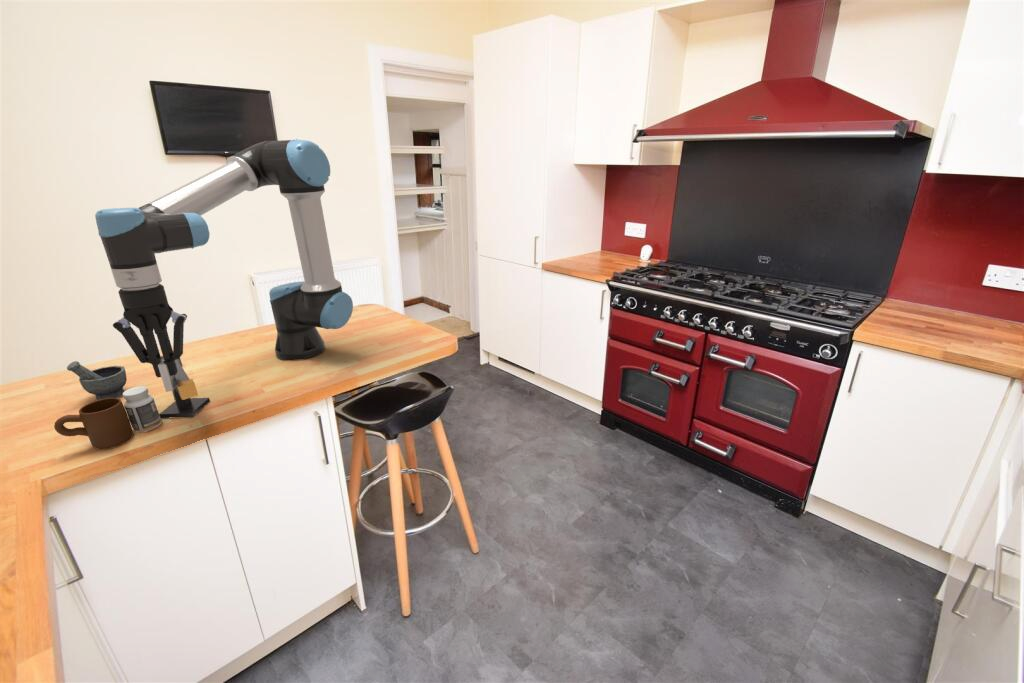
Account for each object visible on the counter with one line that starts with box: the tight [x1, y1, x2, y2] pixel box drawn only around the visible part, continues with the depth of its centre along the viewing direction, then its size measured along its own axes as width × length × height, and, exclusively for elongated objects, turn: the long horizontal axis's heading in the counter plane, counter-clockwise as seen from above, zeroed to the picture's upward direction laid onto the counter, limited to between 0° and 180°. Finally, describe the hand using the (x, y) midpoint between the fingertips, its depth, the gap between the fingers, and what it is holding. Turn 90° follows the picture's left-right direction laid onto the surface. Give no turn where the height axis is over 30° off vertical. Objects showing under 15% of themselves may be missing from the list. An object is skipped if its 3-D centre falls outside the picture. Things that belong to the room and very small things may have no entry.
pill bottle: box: [122, 385, 162, 433], centre depth 111 cm, size 6×6×10 cm
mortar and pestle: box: [66, 360, 128, 401], centre depth 125 cm, size 11×9×12 cm
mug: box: [53, 397, 134, 450], centre depth 104 cm, size 12×8×9 cm, turn 133°
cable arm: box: [160, 355, 199, 400], centre depth 109 cm, size 23×4×3 cm, turn 43°
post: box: [159, 387, 211, 419], centre depth 118 cm, size 8×8×12 cm
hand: (171, 388), depth 104 cm, fingers closed
